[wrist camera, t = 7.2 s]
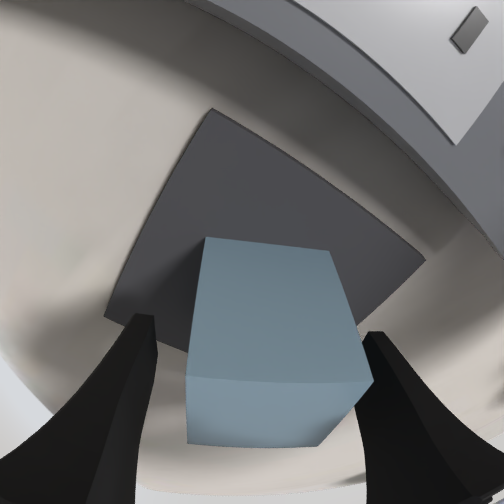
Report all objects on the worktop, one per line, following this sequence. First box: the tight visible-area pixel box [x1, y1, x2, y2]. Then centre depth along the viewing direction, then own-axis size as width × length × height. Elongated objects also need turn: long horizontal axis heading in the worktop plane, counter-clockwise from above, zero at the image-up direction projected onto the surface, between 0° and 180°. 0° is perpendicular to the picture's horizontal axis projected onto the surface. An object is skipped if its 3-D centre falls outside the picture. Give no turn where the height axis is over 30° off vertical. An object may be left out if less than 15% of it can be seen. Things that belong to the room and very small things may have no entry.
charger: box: [185, 237, 374, 448], centre depth 10 cm, size 4×4×6 cm
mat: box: [104, 108, 426, 353], centre depth 13 cm, size 10×10×1 cm
